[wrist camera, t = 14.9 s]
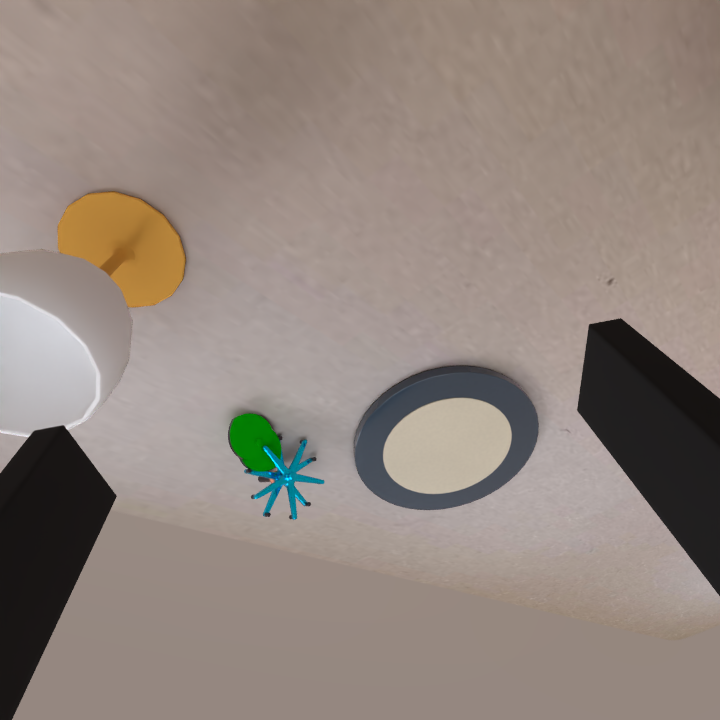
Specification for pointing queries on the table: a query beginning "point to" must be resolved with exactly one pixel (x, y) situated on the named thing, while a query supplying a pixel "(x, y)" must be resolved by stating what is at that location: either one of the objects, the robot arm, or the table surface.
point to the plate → (445, 438)
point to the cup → (79, 309)
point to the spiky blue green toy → (268, 459)
